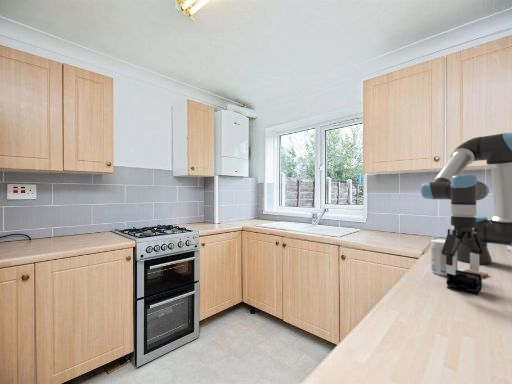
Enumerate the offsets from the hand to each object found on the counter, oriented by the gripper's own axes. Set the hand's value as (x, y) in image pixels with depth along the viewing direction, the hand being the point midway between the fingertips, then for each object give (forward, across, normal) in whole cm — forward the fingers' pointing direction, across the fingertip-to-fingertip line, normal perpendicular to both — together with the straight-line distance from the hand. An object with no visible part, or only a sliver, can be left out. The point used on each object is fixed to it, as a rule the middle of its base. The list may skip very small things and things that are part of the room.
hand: (462, 272), depth 96 cm
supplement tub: (+7, -12, -15) cm, 21 cm away
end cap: (+7, 0, 0) cm, 7 cm away
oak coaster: (+6, -23, -9) cm, 26 cm away
